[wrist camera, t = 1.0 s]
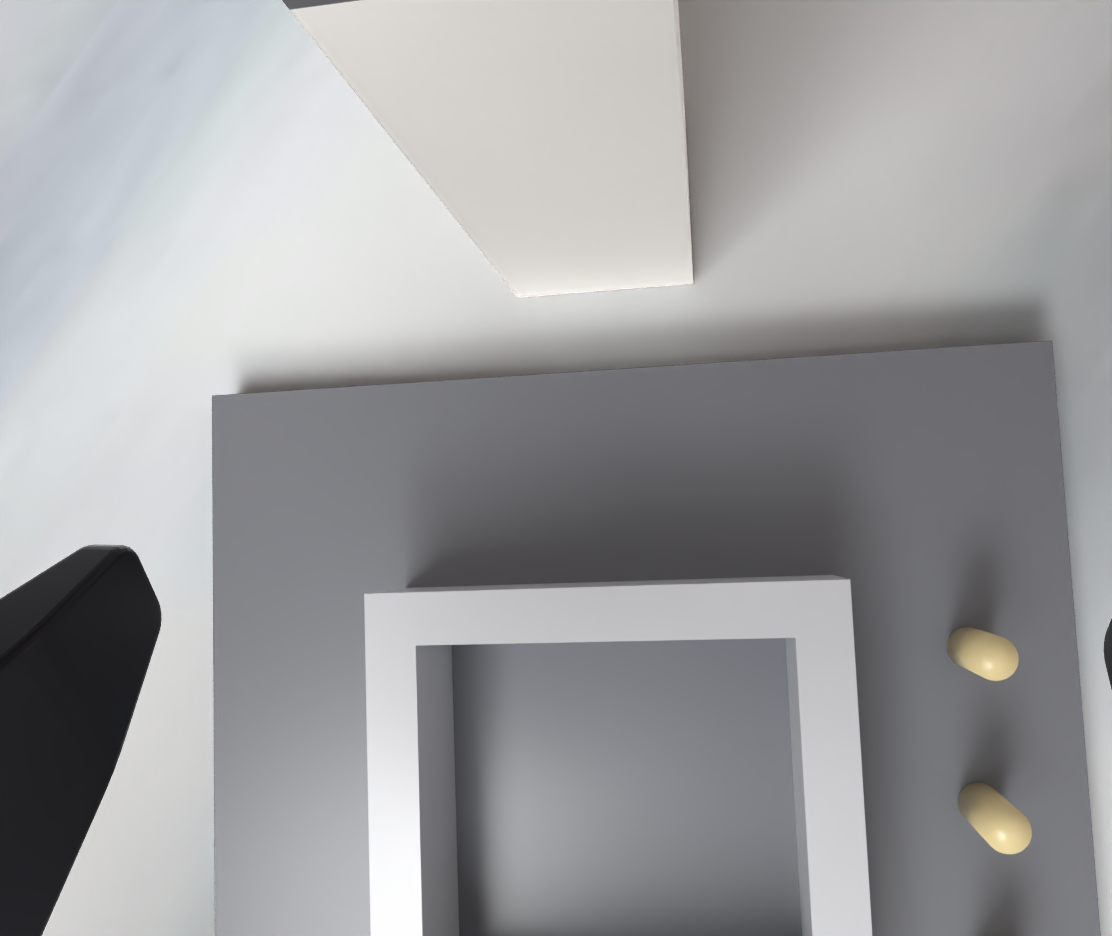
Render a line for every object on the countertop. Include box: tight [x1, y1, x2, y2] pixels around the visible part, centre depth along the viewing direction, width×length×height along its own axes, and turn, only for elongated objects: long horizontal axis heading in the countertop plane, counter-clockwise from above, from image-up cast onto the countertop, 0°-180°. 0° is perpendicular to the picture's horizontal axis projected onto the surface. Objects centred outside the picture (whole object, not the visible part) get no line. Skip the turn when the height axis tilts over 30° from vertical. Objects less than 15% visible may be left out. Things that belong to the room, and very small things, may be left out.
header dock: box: [212, 341, 1100, 936], centre depth 19 cm, size 18×18×4 cm
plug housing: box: [282, 0, 693, 298], centre depth 15 cm, size 4×4×13 cm
